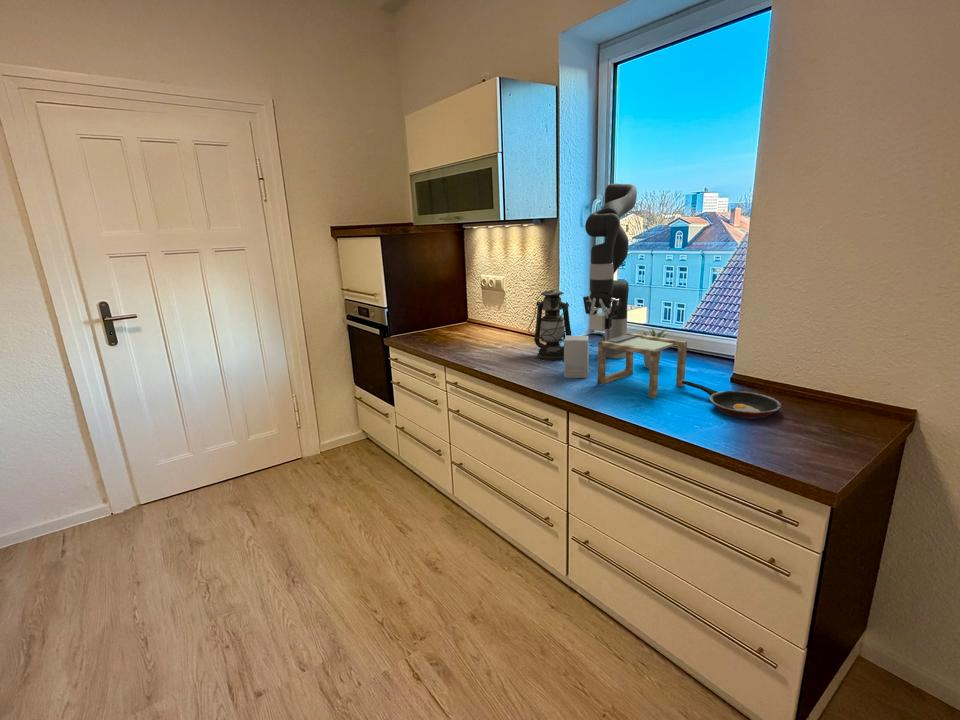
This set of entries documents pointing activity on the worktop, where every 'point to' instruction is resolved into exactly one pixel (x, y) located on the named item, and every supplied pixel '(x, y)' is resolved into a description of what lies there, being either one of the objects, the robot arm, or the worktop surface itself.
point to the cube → (597, 322)
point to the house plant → (647, 357)
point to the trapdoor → (636, 344)
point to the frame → (633, 349)
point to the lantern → (551, 326)
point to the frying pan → (740, 402)
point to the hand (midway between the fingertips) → (600, 327)
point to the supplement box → (576, 356)
